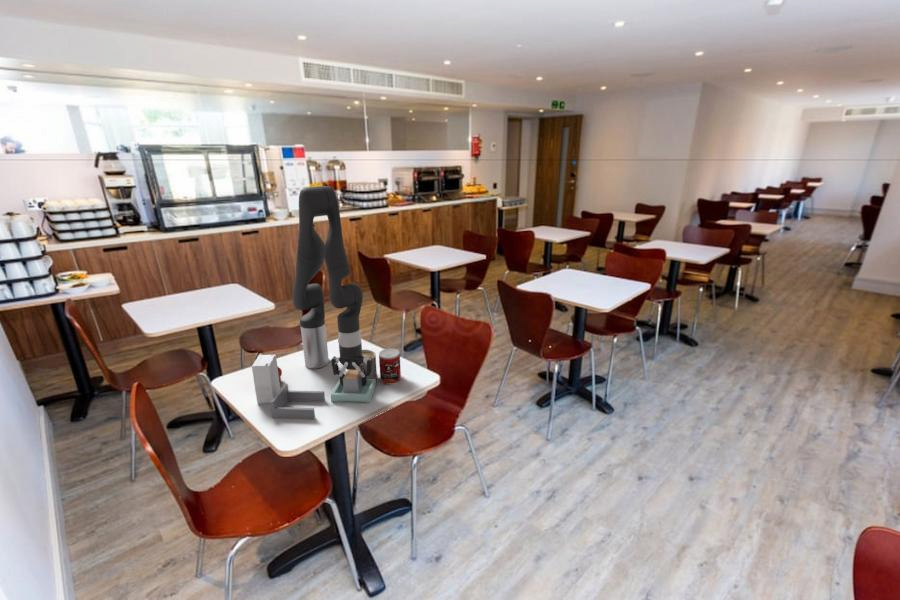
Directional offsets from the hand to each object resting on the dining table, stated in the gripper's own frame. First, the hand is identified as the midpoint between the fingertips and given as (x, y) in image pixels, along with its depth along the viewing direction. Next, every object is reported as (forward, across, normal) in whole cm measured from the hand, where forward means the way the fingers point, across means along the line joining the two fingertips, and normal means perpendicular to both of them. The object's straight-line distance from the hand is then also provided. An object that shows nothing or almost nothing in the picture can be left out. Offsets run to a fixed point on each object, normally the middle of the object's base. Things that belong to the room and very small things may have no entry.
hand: (353, 384), depth 147 cm
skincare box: (+4, +29, +4) cm, 29 cm away
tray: (+4, 0, 0) cm, 4 cm away
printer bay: (+4, +16, +10) cm, 19 cm away
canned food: (+4, -11, -11) cm, 16 cm away
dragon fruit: (+4, +33, -6) cm, 34 cm away
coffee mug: (+4, 0, -12) cm, 13 cm away
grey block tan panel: (+3, 0, 0) cm, 3 cm away
